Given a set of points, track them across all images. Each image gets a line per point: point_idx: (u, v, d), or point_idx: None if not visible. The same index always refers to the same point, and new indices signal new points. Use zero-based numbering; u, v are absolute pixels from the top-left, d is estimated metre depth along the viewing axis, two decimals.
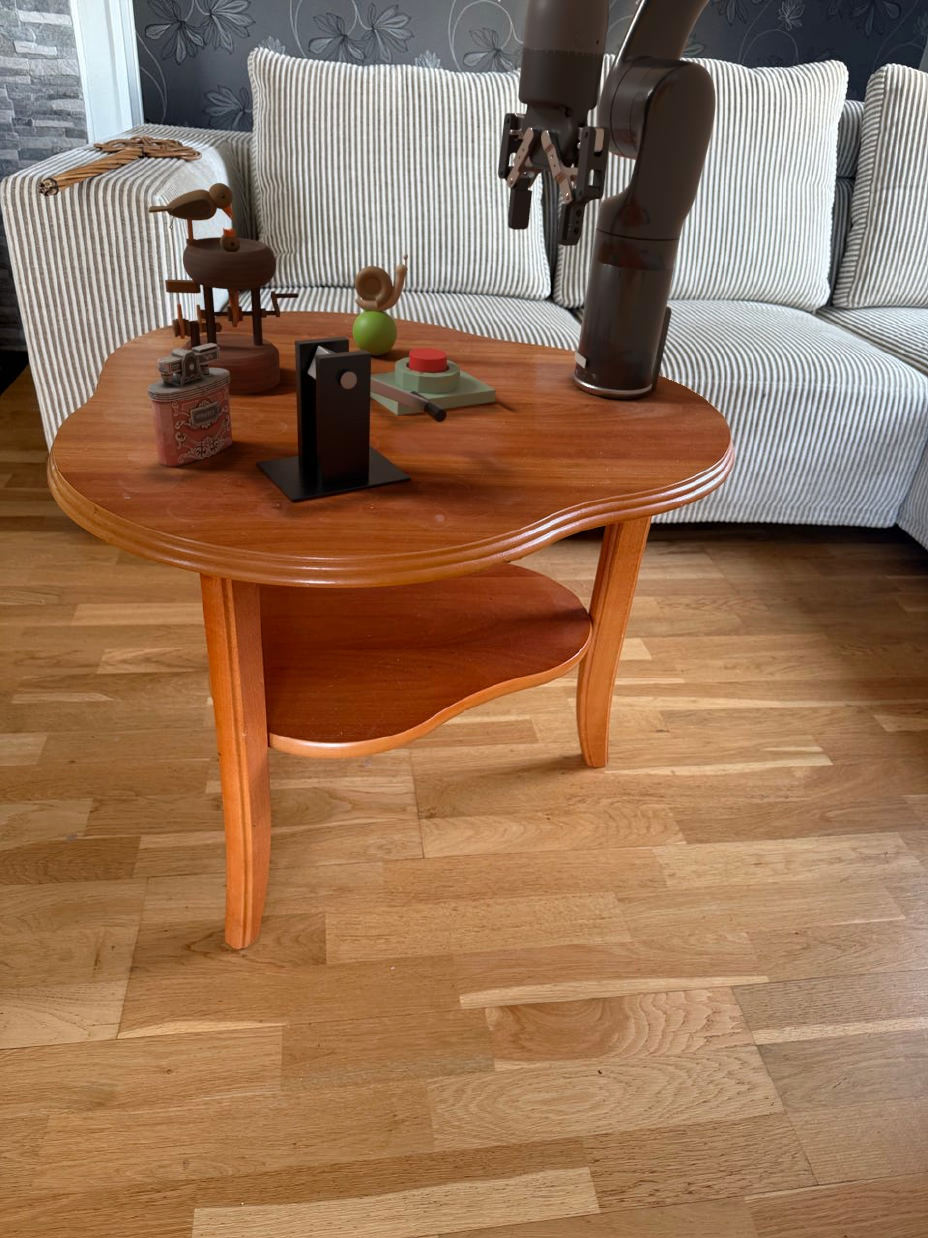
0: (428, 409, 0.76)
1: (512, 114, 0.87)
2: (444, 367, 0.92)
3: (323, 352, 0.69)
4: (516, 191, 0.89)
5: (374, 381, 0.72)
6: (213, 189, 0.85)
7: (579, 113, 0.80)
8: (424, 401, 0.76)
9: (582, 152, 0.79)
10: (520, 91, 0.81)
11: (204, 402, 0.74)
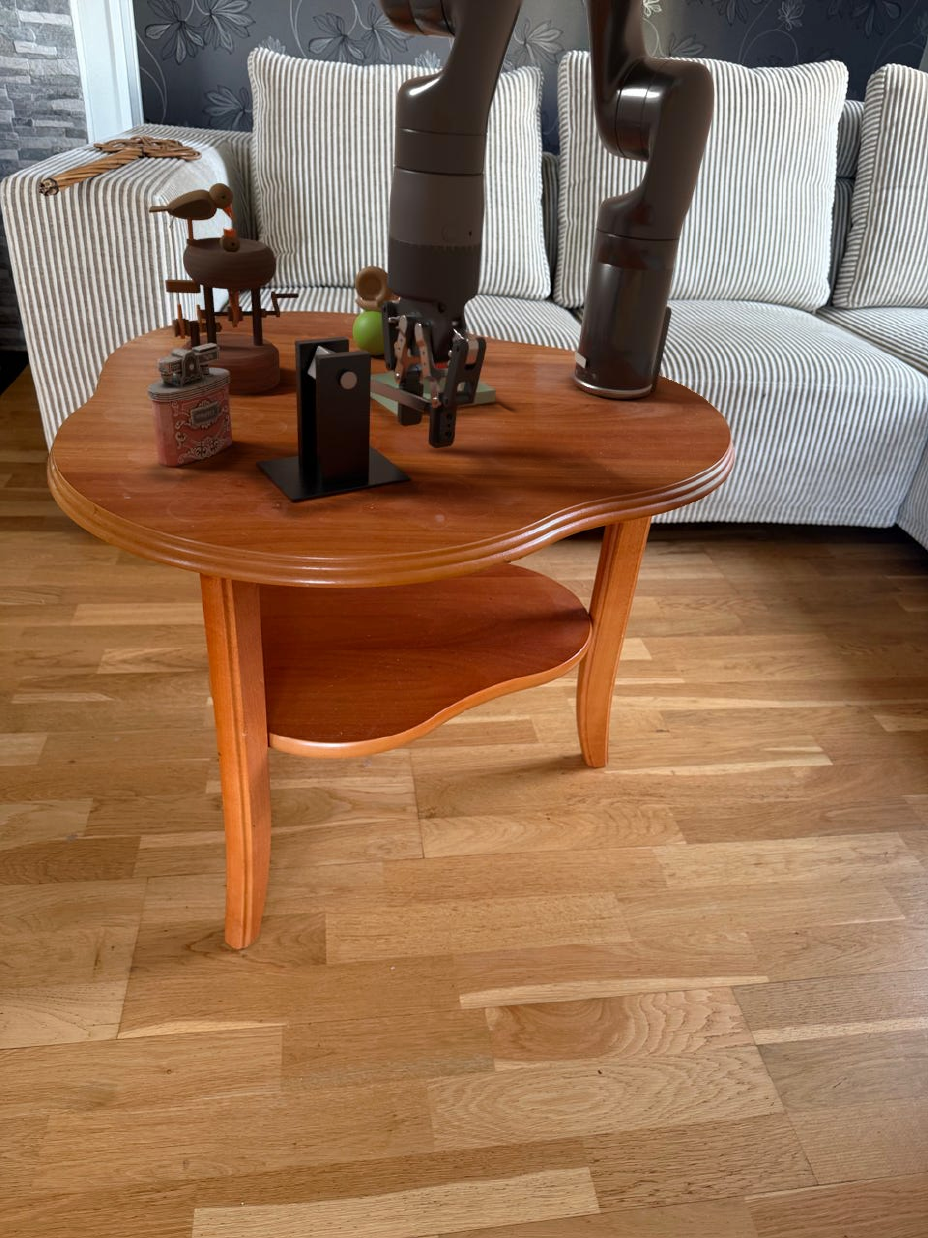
0: (428, 409, 0.76)
1: (388, 302, 0.77)
2: (444, 367, 0.92)
3: (323, 352, 0.69)
4: (404, 387, 0.78)
5: (374, 381, 0.72)
6: (213, 189, 0.85)
7: (453, 309, 0.69)
8: (424, 401, 0.76)
9: (452, 363, 0.70)
10: (388, 280, 0.70)
11: (204, 402, 0.74)
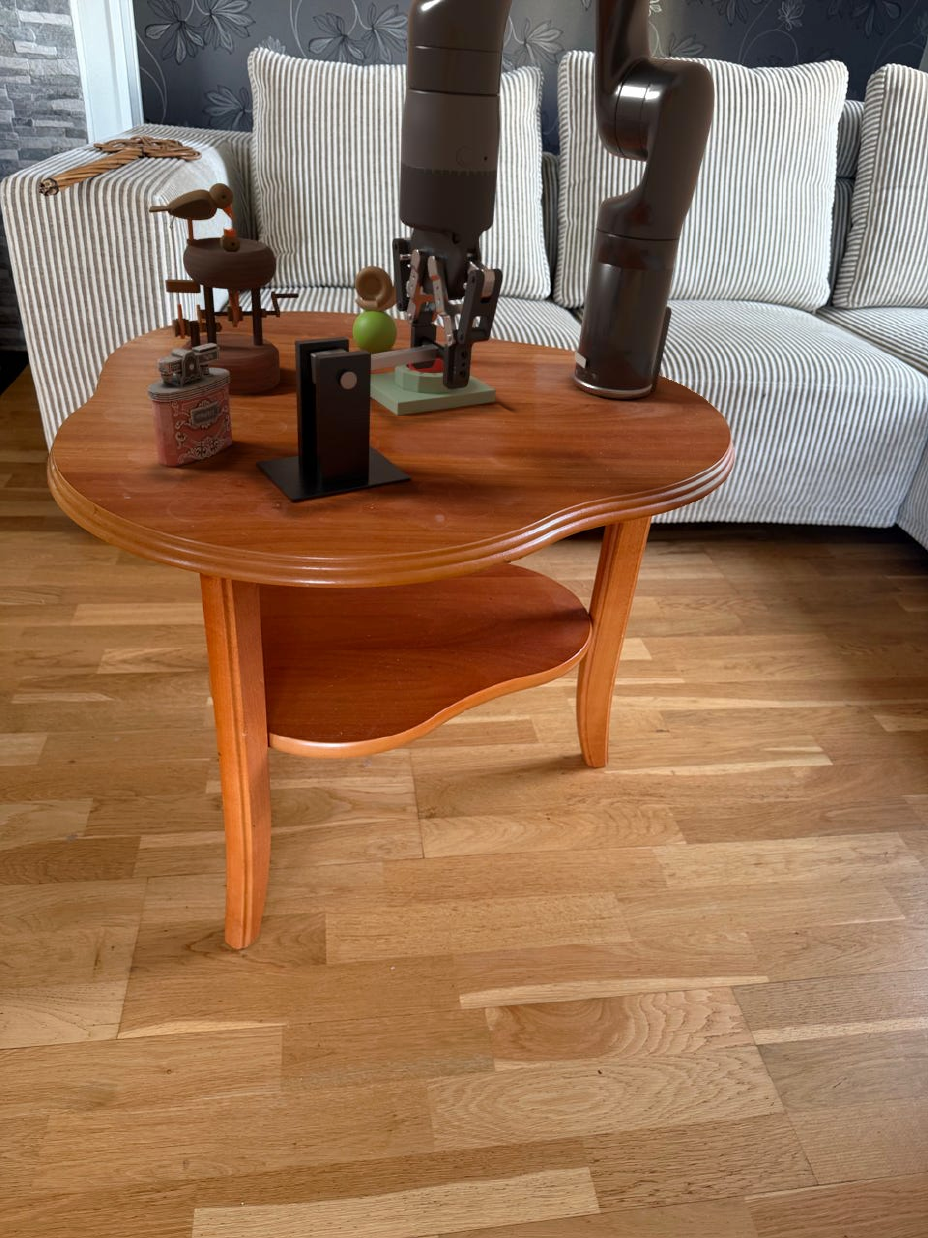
0: (440, 356, 0.74)
1: (399, 239, 0.74)
2: None
3: None
4: (416, 328, 0.76)
5: (376, 359, 0.72)
6: (213, 189, 0.85)
7: (468, 239, 0.67)
8: (433, 349, 0.74)
9: (467, 296, 0.67)
10: (400, 211, 0.68)
11: (204, 402, 0.74)
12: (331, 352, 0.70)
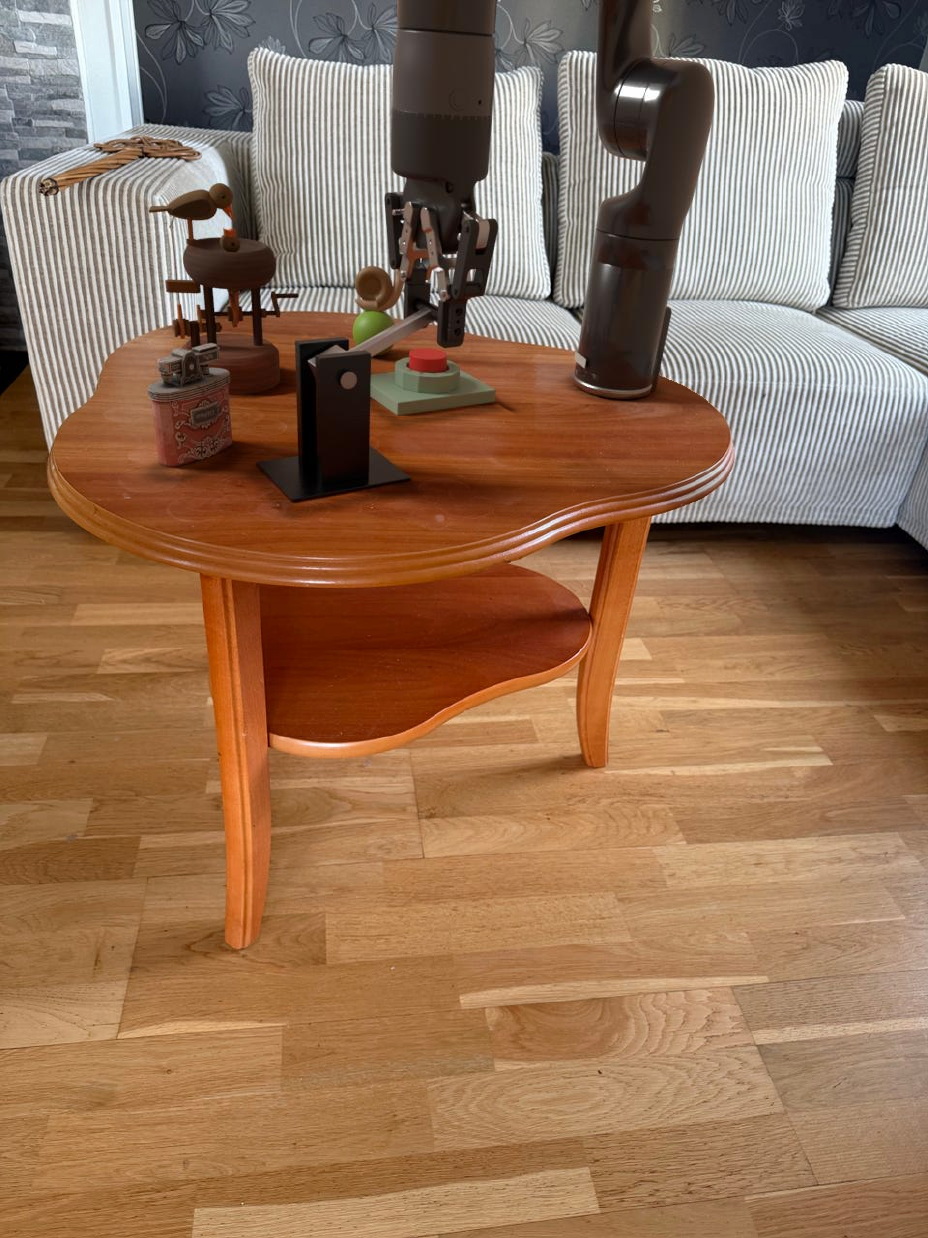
0: (435, 319, 0.72)
1: (392, 193, 0.72)
2: (444, 367, 0.92)
3: (314, 367, 0.69)
4: (410, 286, 0.73)
5: (372, 345, 0.71)
6: (213, 189, 0.85)
7: (462, 188, 0.65)
8: (427, 314, 0.72)
9: (461, 247, 0.65)
10: (391, 160, 0.66)
11: (204, 402, 0.74)
12: (327, 353, 0.70)
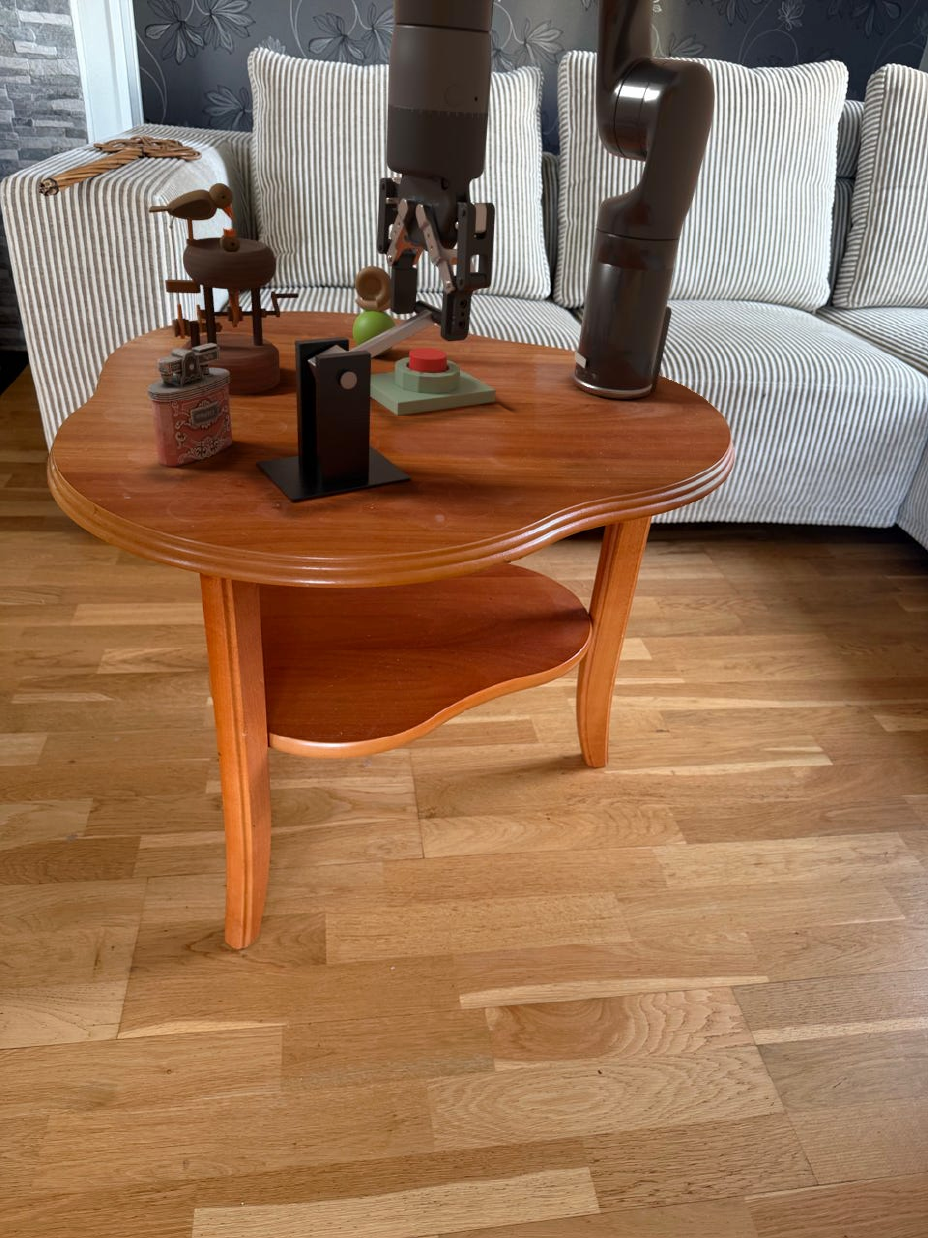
0: (436, 321, 0.72)
1: (388, 179, 0.71)
2: (444, 367, 0.92)
3: (314, 367, 0.69)
4: (397, 270, 0.73)
5: (372, 345, 0.71)
6: (213, 189, 0.85)
7: (458, 185, 0.64)
8: (428, 316, 0.72)
9: (461, 234, 0.64)
10: (387, 156, 0.65)
11: (204, 402, 0.74)
12: (327, 353, 0.70)
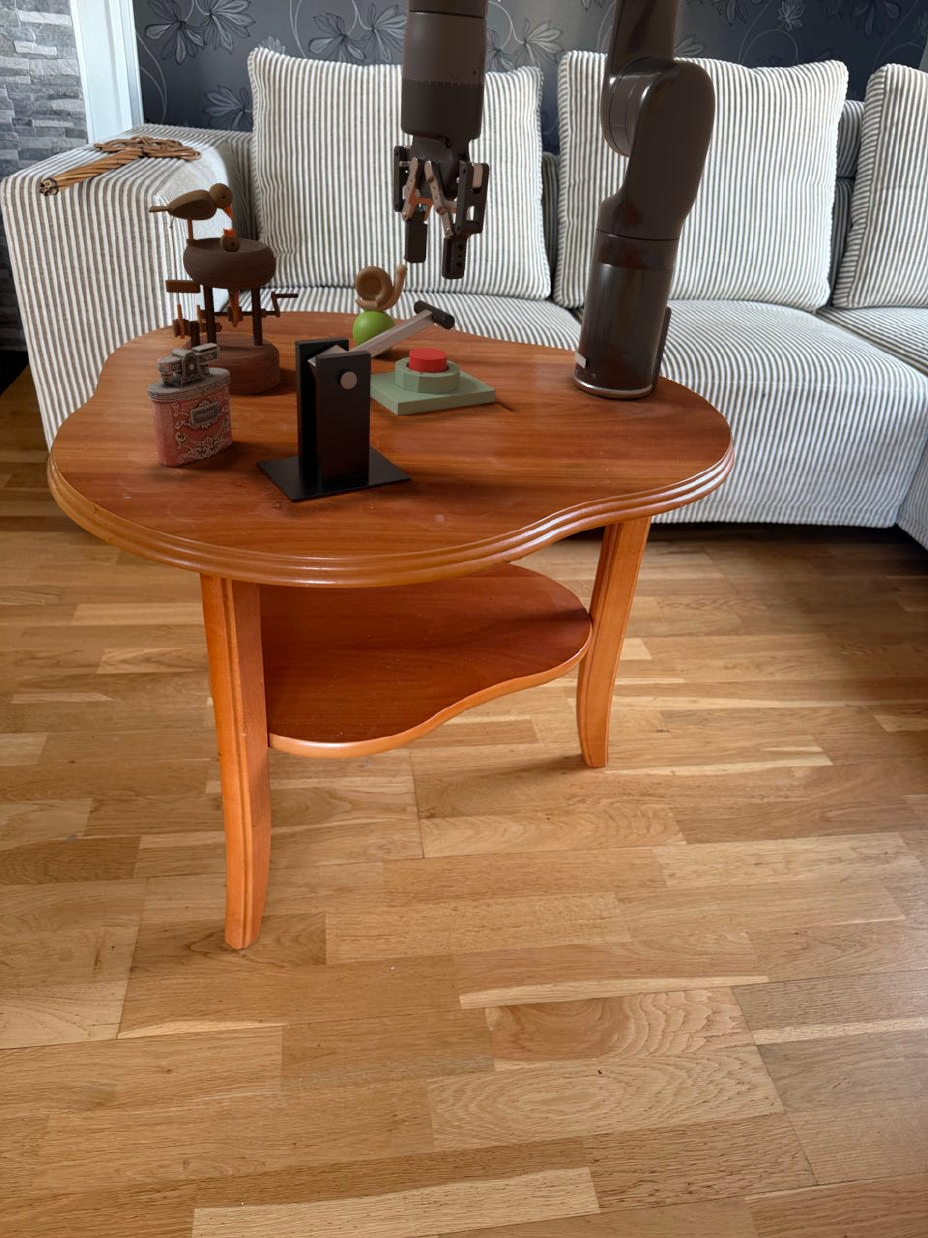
0: (436, 321, 0.72)
1: (400, 146, 0.85)
2: (444, 367, 0.92)
3: (314, 367, 0.69)
4: (410, 225, 0.87)
5: (372, 345, 0.71)
6: (213, 189, 0.85)
7: (459, 144, 0.78)
8: (428, 316, 0.72)
9: (460, 188, 0.78)
10: (401, 121, 0.79)
11: (204, 402, 0.74)
12: (327, 353, 0.70)
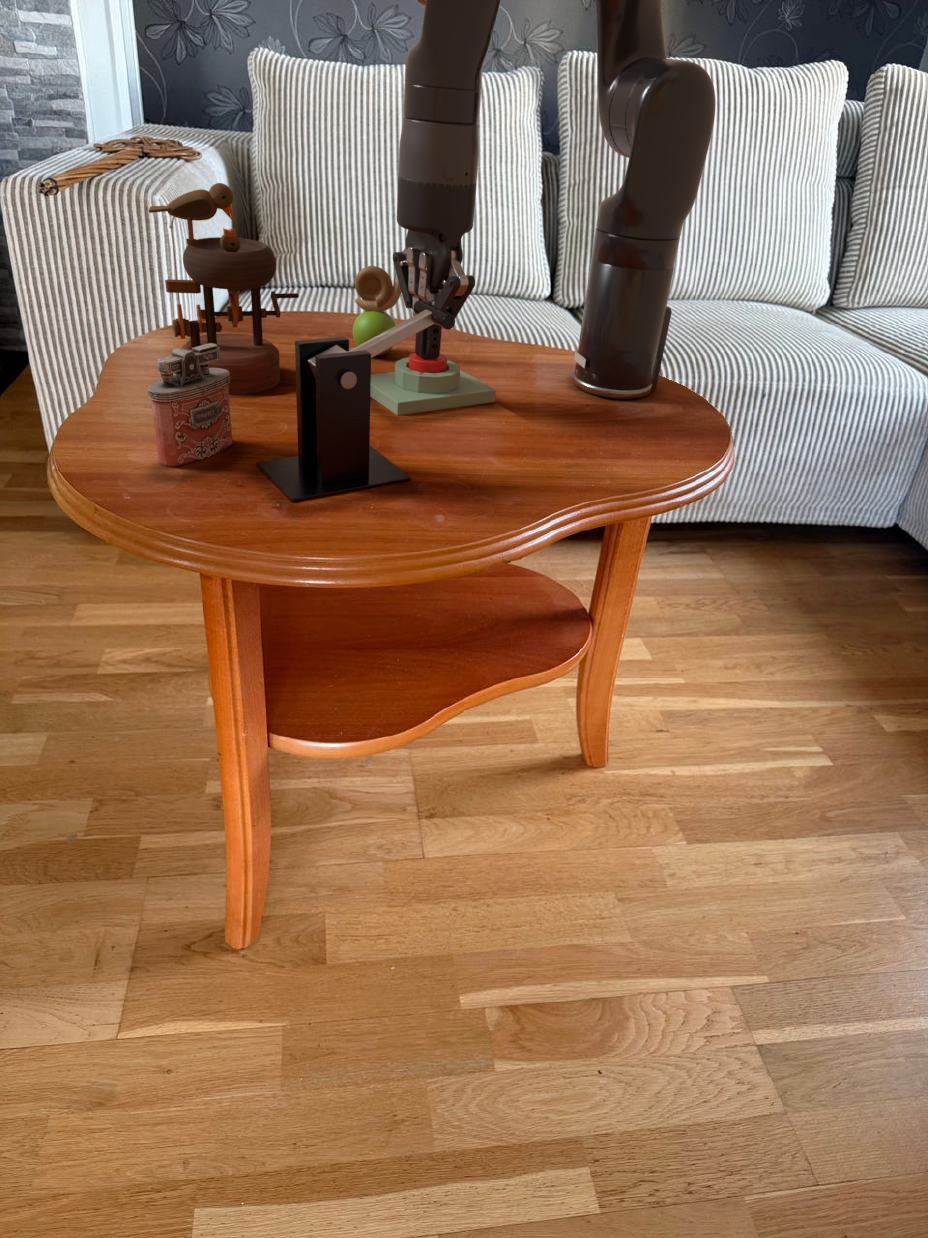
0: (436, 321, 0.72)
1: (398, 252, 0.90)
2: (443, 370, 0.92)
3: (314, 367, 0.69)
4: None
5: (372, 345, 0.71)
6: (213, 189, 0.85)
7: (452, 239, 0.83)
8: (428, 316, 0.72)
9: (444, 291, 0.84)
10: (397, 215, 0.84)
11: (204, 402, 0.74)
12: (327, 353, 0.70)
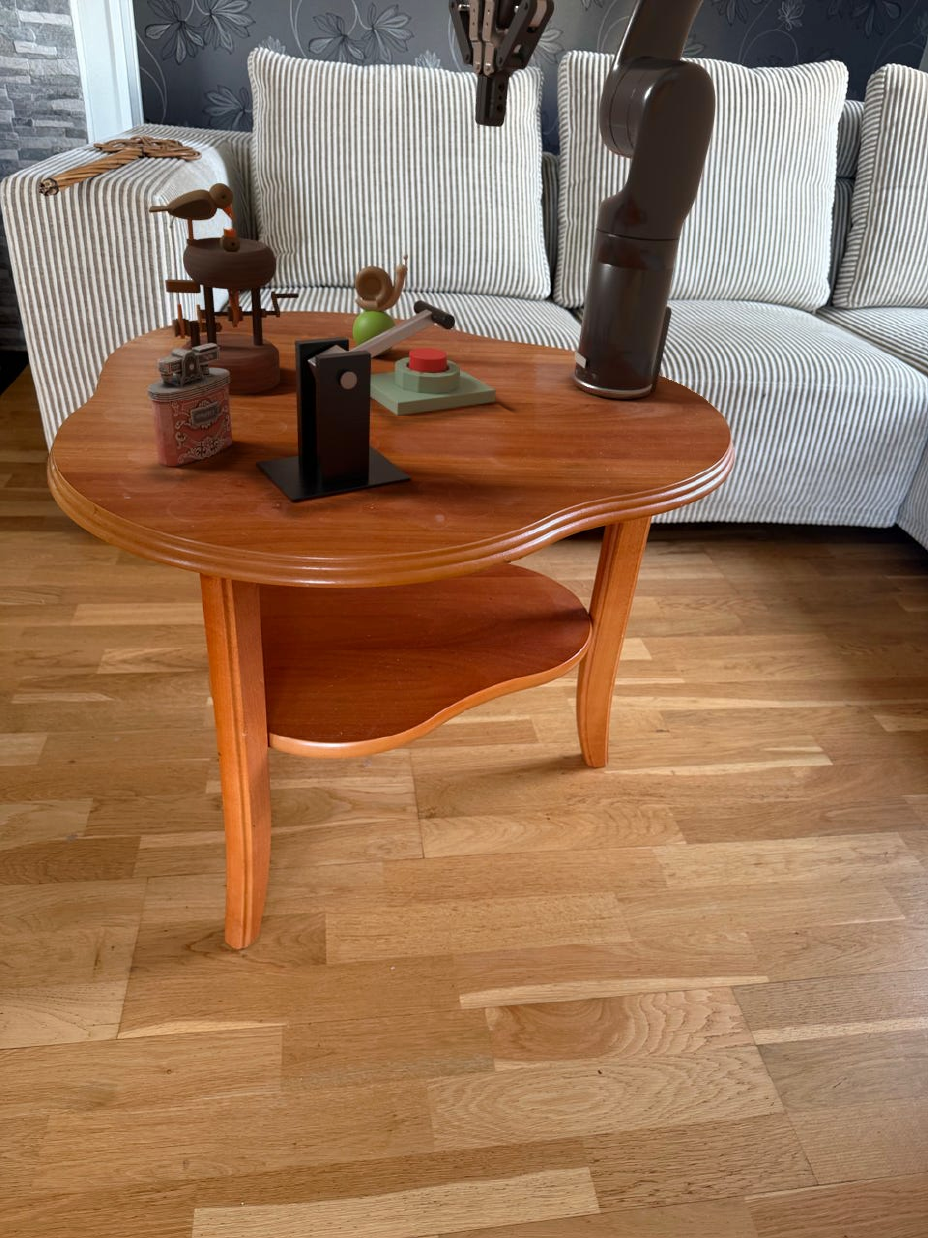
0: (436, 321, 0.72)
1: None
2: (444, 367, 0.92)
3: (314, 367, 0.69)
4: (484, 77, 0.75)
5: (372, 345, 0.71)
6: (213, 189, 0.85)
7: None
8: (428, 316, 0.72)
9: (516, 21, 0.70)
10: None
11: (204, 402, 0.74)
12: (327, 353, 0.70)
